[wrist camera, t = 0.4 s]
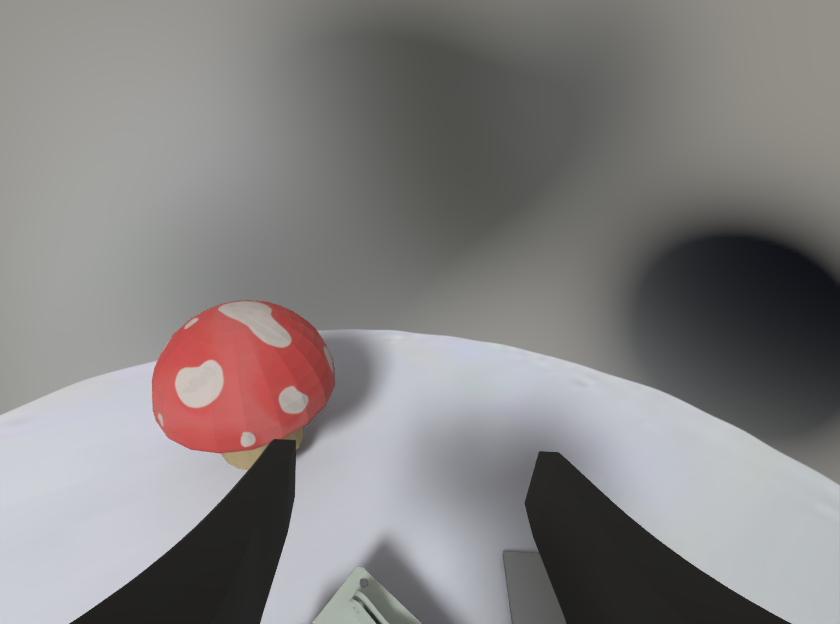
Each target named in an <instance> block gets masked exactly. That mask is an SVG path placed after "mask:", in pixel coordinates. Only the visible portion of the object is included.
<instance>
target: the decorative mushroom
mask: <svg viewBox="0 0 840 624" xmlns="http://www.w3.org/2000/svg"><path fill="white" fill-rule="evenodd" d="M334 385H335V378H334V364H333V359H332V357H331V354H330V352H329V350H328V348H327V346H326V344H325V343H324V341H323V339H322V338H321V336H320V335H319V333H318V332H317V330H316V329H315V328H314V327H313V326H312V325H311V324H310V323H309V322H308V321H306V320H305V319H304V318H302V317H300V316H299V315H298V314H296V313H294V312H293V311H291V310H290V309H288V308H285V307H282V306H279V305H276V304H272V303H269V302H263V301H252V300H244V301H233V302H229V303H224V304H220V305H218V306H215V307H212V308H209V309H207V310H206V311H204V312H202V313H200V314H198V315H197V316H195V317H193V318H191V319H190V320H189V321H188V322H187V323H186V324H185V325H184V326H182V327H181V328H180V329H179V330H178V331H177V332H176V333H175V334H173V336H172V337H171V339H170V340H169V341H168V343H167V344H166V346H165V348H164V349H163V351H162V353H161V355H160V357H159V359H158V361H157V364H156V366H155V368H154V373H153V378H152V402H153V412H154V416H155V419H156V422H157V423H158V424H159V426H160V427H161V429H162V430H163V431H164V433H165V434H166V436H167V437H168V438H169V439H171V440H173V441H175V442H177V443H179V444H181V445H183V446H185V447H187V448H189V449H191V450H198V451H206V452H214V453H222V456H223V457H224V458H225V460H226V461H227V462H228V463H229V464H231V465H233V466H235V467H237V468H240V469H246V470H249V469H250V468H251V466H252V465H253V464H254V463H255V461H256V460H257V459H258V458H259V456H260V455H261V454H262V452H263V451H264V450H265V448H266V447H267V445H268V444H269V443H270V442H271V441H272V440H273V439H286V440H296V450H297V449H298V448H299V446H300V444H301V441H302V439H303V427H304V426H305V425H307V424H308V423H309V422H310V421H311V420H312V419H313V418H314V417H315V416H316V415H317V414H318V413H319V412H320V411H321V410H322V409H323V407H324V406H325V405H326V403H327V401H328V399H329V397H330V395H331V393H332V390H333V388H334Z"/></svg>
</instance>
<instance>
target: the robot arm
mask: <svg viewBox="0 0 840 624" xmlns="http://www.w3.org/2000/svg"><path fill="white" fill-rule="evenodd" d="M295 467H296V440H286V439H273V440H272V441H271V442H270V443H269V444H268V445H267V447H266V448H265V450H264V451H263V452H262V454H261V455H260V456H259V458H258V459H257V460H256V461H255V463H254V464H253V465H252V466H251V468H250V469H249V470H248V471H247V472H246V474H245V475H244V476H243V477H242V478H241V479H240V481H239V482H238V483H237V484H236V485H235V486H234V487H233V489H232V490H231V491H230V492H229V493H228V494H227V495H226V496H225V497H224V498H223V499H222V500H221V502H220V503H219V504H218V505H217V506H216V507H215V508H214V509H213V510H212V511H211V512H210V513H209V514H208V515H207V516H206V517H205V518H204V519H203V520H202V521H201V522H200V523H199V524H198V525H197V526H196V527H195V528H194V529H192V530H191V531H190V532H189V533H188V534H187V535H186V536H185V537H184V538H183V539H181V540H180V541H179V542H178V543H177V544H176V545H175V546H174V547H172V548H171V549H170V550H169V551H168V552H166V553H165V554H164V555H163V556H162V557H160V558H159V559H158V560H157V561H155V562H154V563H153V564H152V565H151V566H149V567H148V568H147V569H146V570H144V571H143V572H142V573H141V574H139V575H138V576H137V577H135V578H134V579H133V580H131V581H130V582H129V583H127V584H126V585H125V586H123V587H122V588H120V589H119V590H118V591H116V592H115V593H113V594H112V595H111V596H109V597H108V598H106V599H105V600H103V601H102V602H101V603H99V604H98V605H96V606H95V607H94V608H92V609H91V610H89V611H88V612H86V613H85V614H83V615H82V616H80V617H79V618H77V619H76V620H74V621H73V622H71V623H70V624H260V622H261V618H262V614H263V611H264V608H265V605H266V601H267V598H268V595H269V592H270V588H271V585H272V582H273V579H274V575H275V572H276V569H277V566H278V562H279V559H280V556H281V553H282V549H283V546H284V543H285V539H286V536H287V533H288V528H289V523H290V518H291V513H292V508H293V503H294V497H295ZM525 506H526V511H527V515H528V519H529V523H530V527H531V530H532V534H533V538H534V540H535V543H536V546H537V548H538V551H539V554H540V556H541V559H542V561H543V564H544V567H545V569H546V572H547V574H548V577H549V579H550V582H551V584H552V587H553V589H554V592H555V595H556V597H557V600H558V602H559V605H560V607H561V610H562V612H563V615H564V618H565V621H566V624H791V623H789V622H787V621H785V620H783V619H781V618H780V617H778V616H776V615H774V614H772V613H771V612H769V611H767V610H765V609H763V608H762V607H760V606H758V605H756V604H755V603H753V602H751V601H749V600H748V599H746V598H744V597H743V596H741V595H739V594H738V593H736V592H734V591H733V590H731V589H729V588H728V587H726V586H724V585H723V584H721V583H720V582H718V581H717V580H715V579H714V578H712V577H710V576H709V575H707V574H706V573H704V572H703V571H701V570H700V569H698V568H697V567H695V566H694V565H692V564H691V563H689V562H688V561H686V560H685V559H684V558H682V557H681V556H679V555H678V554H677V553H675V552H674V551H673V550H671V549H670V548H668V547H667V546H666V545H664V544H663V543H662V542H660V541H659V540H658V539H656V538H655V537H654V536H653V535H651V534H650V533H649V532H648V531H646V530H645V529H644V528H643V527H641V526H640V525H639V524H638V523H637V522H635V521H634V520H633V519H632V518H631V517H629V516H628V515H627V514H626V513H625V512H624V511H622V510H621V509H620V508H619V507H618V506H617V505H616V504H614V503H613V502H612V501H611V500H610V499H609V498H608V497H607V496H605V495H604V494H603V493H602V492H601V491H600V490H599V489H598V488H597V487H596V486H595V485H594V484H592V483H591V482H590V481H589V480H588V479H587V478H586V477H585V476H584V475H583V474H582V473H581V472H580V471H579V470H577V469H576V468H575V467H574V466H573V465H572V464H571V463H570V462H569V461H568V460H567V459H565V458H564V457H563V456H562V455H561V454H560V453H559V452H541V451H539V454H538V457H537V461H536V465H535V468H534V472H533V475H532V479H531V482H530V486H529V490H528V493H527V497H526V500H525Z"/></svg>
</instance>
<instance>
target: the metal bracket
mask: <svg viewBox="0 0 840 624" xmlns="http://www.w3.org/2000/svg"><path fill="white" fill-rule="evenodd" d="M361 579H366V580H367V581H368V585H367V586H366V587H361V586H360V580H361ZM312 624H422V623H421V622H420V621H419V620H418V619H417V618H416V617H415V616H413V615H412V614H411V613H410V612H409V611H408V610H407V609H406V608H405V607H404V606H403V605H402V604H401V603H400V602H399V601H398V600H397V599H396V598H395V597H393V596H392V595H391V594H390V593H389V592H388V591H387V590H386V589H385V588H384V587H383V586H382V585H381V584H380V583H379V582H378V581H377V580H376V579H375V578H373V577H372V576H371V575H370V574H369V573H368V572H367V571H366V570H365V569H364V568H363V567H357V568H355V570H354V571H353V572H352V573H351V575H350V576H349V577H348V578H347V580H346V581H345V582H344V583H343V585H342V586H341V587H340V588H339V590H338V591H337V592H336V594H335V595H334V596H333V597H332V599H331V600H330V601H329V602H328V604H327V605H326V606H325V607H324V609H323V610H322V611H321V613H320V614H319V615H318V616H317V618H316V619H315V620H314V621H313V623H312Z"/></svg>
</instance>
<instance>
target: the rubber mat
mask: <svg viewBox="0 0 840 624" xmlns="http://www.w3.org/2000/svg"><path fill="white" fill-rule="evenodd" d="M503 559H504V567H505V574H506V581H507V589H508V596H509V604H510V611H511V619H512V624H566V621H565V618H564V615H563V612H562V610H561V607H560V605H559V602H558V600H557V597H556V595H555V592H554V589H553V587H552V584H551V582H550V579H549V577H548V574H547V572H546V569H545V567H544V564H543V561H542V559H541V556H540V554H539V553H527V552H503Z"/></svg>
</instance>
